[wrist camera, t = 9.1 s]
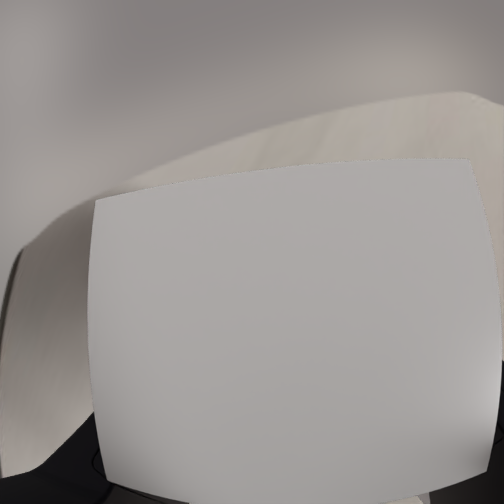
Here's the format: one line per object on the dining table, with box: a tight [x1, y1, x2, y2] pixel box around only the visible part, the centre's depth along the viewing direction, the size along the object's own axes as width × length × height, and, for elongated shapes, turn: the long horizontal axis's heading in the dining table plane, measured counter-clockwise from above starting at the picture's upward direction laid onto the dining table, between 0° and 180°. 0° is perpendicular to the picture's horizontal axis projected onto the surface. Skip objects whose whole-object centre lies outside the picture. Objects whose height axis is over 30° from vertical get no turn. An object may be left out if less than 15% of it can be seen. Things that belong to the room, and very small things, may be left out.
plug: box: [87, 158, 502, 504], centre depth 9 cm, size 4×5×12 cm
